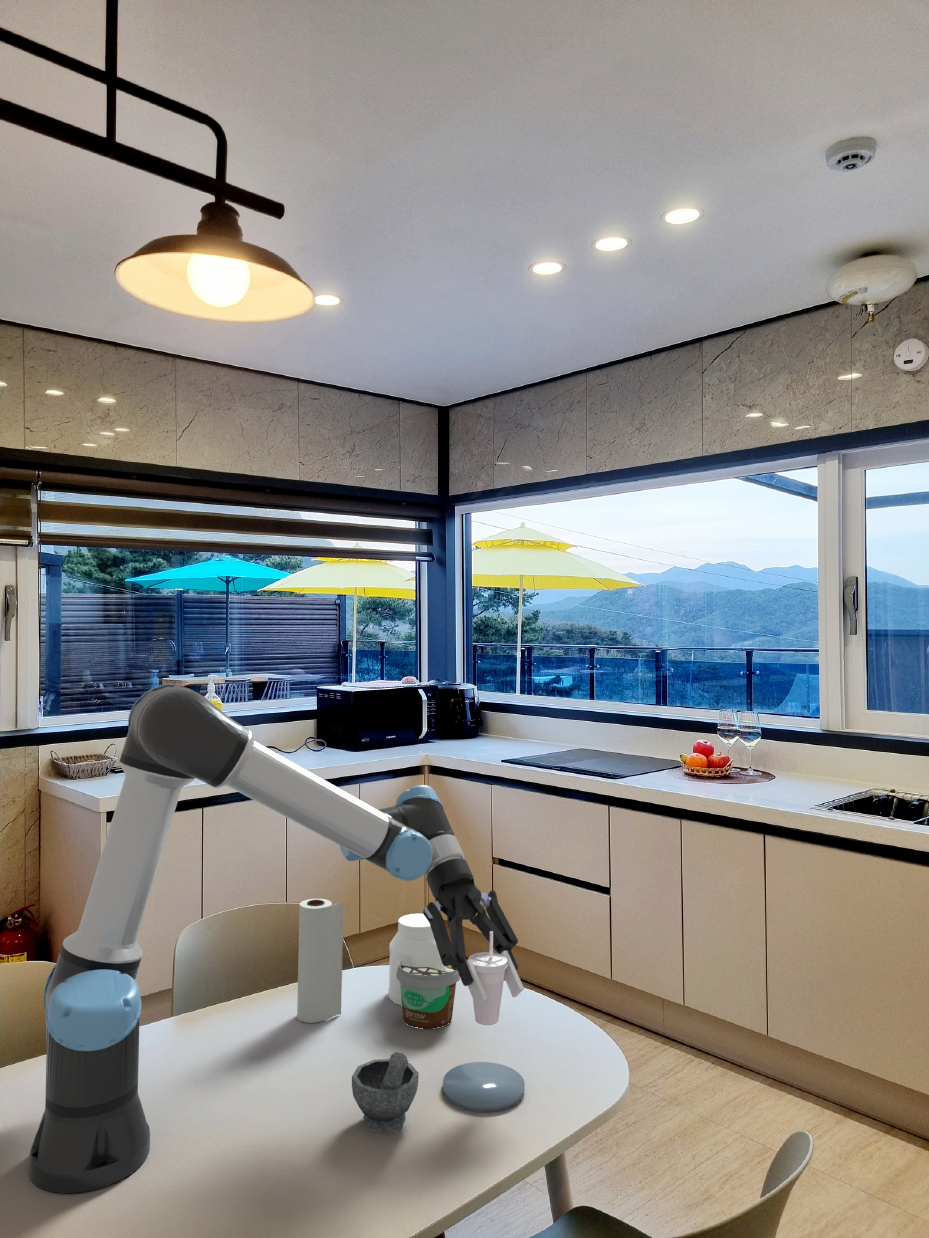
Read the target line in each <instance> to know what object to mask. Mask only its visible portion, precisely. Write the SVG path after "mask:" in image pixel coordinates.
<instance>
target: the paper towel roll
mask: <svg viewBox="0 0 929 1238" xmlns="http://www.w3.org/2000/svg"><path fill="white" fill-rule="evenodd" d="M298 915H299V916H298V918H299V920H298V921H299V922H298V958H297V959H298V961H297V962H298V963H297V964H298V965H297V966H298V968H297V969H298V970H297V1003H296V1005H297V1008H296V1010H297V1011H296V1014H297V1015H296V1018H297V1019H298V1020H299V1021H300V1022H303V1023H309V1024H312V1023H316V1024H317V1023H320V1022H324V1021H328V1020H330V1019H331V1018H334V1017H336V1016H339V1015H341V1014H342V989H343V987H342V982H343V979H342V978H343V944H344V943H343V941H344V939H343V936H344V935H343V934H344V932H343V931H344V902H338V903H335V904H333V902H332V901H331V900H328V899H325V898H310V899H304V900H303V901H301V902H299V913H298Z"/></svg>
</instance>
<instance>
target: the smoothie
mask: <svg viewBox="0 0 929 1238" xmlns="http://www.w3.org/2000/svg"><path fill="white" fill-rule="evenodd" d="M467 958H468V959H467V960H469V959H472V962H473V964H474V966H475V969H476V971H477V974H478V976H479V979H480V981H481V983H482V986H483V988H484V991H485V993H486V995H487V998H488V999H487V1000H486V1002H485V1003H484V1004H483V1005H482V1006H481V1007H478V1008H476V1005H475V1003H474V1000H473V999H472V1000H473V1001H472V1002H473V1012H474V1021H475V1022H476V1024H479V1025H482V1026H493V1025H496V1024H497V1023H499V1019H500V1012H501V1011H500V1010H501V1003H502V995H503V990H504V989H503V988H504V981H505V978H504V975H505V969H506V968H507V966H508V965H507V958H506V957H505V956H503V955H501V954H498V953H497V952H494V948H493V931H490V943H489V951H481V952H480V951H479V952H476V953H473V954H470V955H469V957H467Z"/></svg>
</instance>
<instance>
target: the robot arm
mask: <svg viewBox="0 0 929 1238" xmlns="http://www.w3.org/2000/svg"><path fill="white" fill-rule="evenodd" d="M127 727H128V732H127V735H126V737H125V742H124V745H123V748H122V751H121V755H120V758H119V761H118V764H119V766H120V767H121V769H122V771H123V772H124V775H125V777H124V780H123V783H122V785H121V786H122V787H121V790H120V793H119V796H118V799H117V803H116V806H115V808H114V813H113V815H112V819H111V823H110V825H109V829H108V831H107V835H106V838H105V842H104V844H103V849H102V851H101V853H100V854H101V855H100V857H99V861H98V864H97V867H96V870H95V875H94V878H93V880H92V884H91V887H90V890H89V894H88V896H87V900H86V903H85V907H84V910H83V914H82V917H81V920H80V922H79V925H78V929H77V930H76V931H75V932H73V933H72V934H70V935H69V936H67V937H65V938H64V940H63V941H62V945H61V947H60V948H61V949H60V952H59V955H58V957H57V961H56V963H55V964H54V965H53V967H52V968H51V970H50V973H49V974H48V976H47V979H46V982H45V985H44V990H43V1005H44V1006H43V1008H44V1010H45V1030H46V1031H45V1032H46V1033H45V1035H46V1037H45V1038H46V1058H45V1059H46V1064H45V1065H46V1066H45V1103H44V1111H43V1114H42V1116H41V1117H42V1118H41V1120H40V1123H39V1126H38V1128H37V1131H36V1134H35V1137H34V1140H33V1142H32V1145H31V1148H30V1151H29V1157H28V1158H29V1159H28V1161H29V1163H28V1175H29V1178H30V1180H31V1181H32V1183H33V1184H34V1185H36V1186H37V1187H38V1188H41V1189H42V1190H45V1191H48V1192H52V1193H53V1192H54V1193H59V1194H60V1193H62V1194H73V1193H76V1194H77V1193H82V1192H83V1193H85V1192H90V1191H94V1190H98V1189H102V1188H106V1187H107V1186H111V1185H112V1184H114V1183H117V1182H119V1181H121V1180H123V1179H124V1178H127V1177H128V1176H130V1175H131V1174H133V1173H134V1172H135V1171H137V1169H139V1168H140V1166H142V1165H143V1163H145V1161H146V1160H147V1158H148V1156H149V1154H150V1151H151V1149H150V1148H151V1129H150V1126H149V1123H148V1122H147V1118H146V1114H145V1111H144V1109H143V1105H142V1102H141V1099H140V1096H139V1064H140V1063H139V1060H140V1057H139V1055H140V1054H139V1051H140V1018H141V1013H142V998H141V996H140V995H141V994H140V987H139V984H138V983H137V981H136V977H137V974H138V970H139V967H140V964H141V961H142V957H143V950H142V948H141V946H140V945H139V944H138V941H137V939H138V935H139V931H140V929H141V925H142V922H143V919H144V915H145V912H146V908H147V905H148V902H149V898H150V895H151V892H152V888H153V885H154V881H155V878H156V875H157V872H158V869H159V868H158V867H159V864H160V862H161V858H162V855H163V852H164V848H165V845H166V842H167V839H168V835H169V831H170V828H171V824H172V822H173V819H174V815H175V811H176V808H177V805H178V802H179V798H180V796H181V791H182V789H183V788H184V787H185V786H187V785H189V784H190V783H193V782H194V781H195V779H196V780H199V781H201V782H203V783H205V784H207V785H209V786H210V787H212V788H215V789H219V788H222V787H226V786H227V787H229V788H230V789H232V790H234V791H235V792H238V793H240V794H242V795H243V796H245V797H247V798H249V799H250V800H253V801H255V802H257V803H258V804H260V805H262V806H265V807H266V808H268V809H269V810H272V811H274V812H276V813H277V814H280V815H282V816H283V817H285V818H287V819H289V820H291V821H292V822H295V823H297V824H298V825H300V826H301V827H305V828H306V829H308V830H309V831H311V832H313V833H316V834H317V835H320V836H321V837H323V838H325V839H327V840H329V841H330V842H333V843H334V844H336V845H338V846H339V849H340V852H341V854H342V856H343V857H344V859H345V860H347V861H348V862H352V861H353V862H354V861H358V860H359V861H363V860H366V861H368V862H370V863H371V864H373V865H374V866H377V867H379V868H381V869H383V870H385V871H387V872H388V873H389V874H390V875H391V876H392V877H395V878H397V879H400V880H401V881H405V882H406V881H408V882H410V881H416V880H418V879H420V878H421V877H423V876H425V877H426V879H425V880H426V882H427V885H428V887H429V890H430V892H431V895H432V897H434V898H435V899H434V900H435V901H434V902H431V901H430V902H429V903H428V904H427V905H426V906H425V908H424V910H423V911H422V914H424V916H425V917H426V919H427V920H428V922H429V923H430V926H431V929H432V933H433V936H434V939H435V942H436V945H437V948H438V952H439V955H440V958H441V961H442V964H443V965H444V966H446V967H448V966H451V969H452V970H453V971H454V970H457V971H458V973H459V976H460V980H461V983H462V985H463V986H464V987H468V990H469V993H470V994H471V995H470V996H471V997H472V1000H474V1003H475V1005H476V1008H478V1007H481V1006H482V1005H483V1004H484V1003H485V1002H486V1000H487V999H488V998H487V995H486V993H485V991H484V988H483V986H482V983H481V981H480V979H479V976H478V974H477V971H476V969H475V966H474V964H473V962H472V959H469V960H468V959H467V953H466V945H465V937H464V936H465V935H464V927H463V921H464V920H466V921H470V923H471V924H472V925H474V926H476V927H477V928H478V929H479V931H480V933H481V934H482V936H483V937H485V939H486V940H487V942H488V943H489V944H490V931H493V950H495V953H498V954H501V955H503V956H505V957H506V958H507V965H508V966H507V968H506V969H505V975H504V981H505V982H506V985H507V988H508V990H509V992H510V994H511V996H512V998H516V997H518V996H519V995H520V994H521V993H522V992H523V990H525V987H524V986H523V983H522V981H521V978H520V976H519V974H518V972H517V971H518V970H519V966H518V965H519V964H518V963H517V961H516V959H515V957H514V954H513V952H512V950H513V949H514V947H515V946H517V944H518V942H519V940H518V937H517V936H516V934H515V932H514V930H513V928H512V927H511V925H510V923H509V921H508V919H507V917H506V915H505V914H504V911H503V910H502V908H501V906H500V904H499V902H498V901H499V900H498V895H497V893H496V891H495V890H494V889H493V890H490V891H489V892H481V890H480V889H479V888H478V887H477V886H476V883H475V880H474V874H473V873H472V871H471V868H470V866H469V864H468V861H467V860H466V859H465V854H464V852H463V850H462V847H461V845H460V843H459V841H458V838H457V836H456V835H455V833H454V831H453V828H452V826H451V824H450V821H449V819H448V817H447V815H446V814H447V813H446V812H445V807H444V805H443V803H442V802H441V800H440V798H439V797H438V795H437V793H436V792H435V790H434V789H433V787H432V786H430V785H428V784H427V785H426V784H419V785H414V786H412V787H410V788H409V789H406V790H404V791H402V792H401V793H400V794H399V795H398V796H397V798H396V800H395V804H396V805H393V806H388V807H384V808H379V809H377V808H375V807H374V806H372V805H370V804H368V803H367V802H364V801H363V800H362V799H359V798H358V797H356V796H354V795H353V794H350V793H348V792H347V791H345V790H343V789H341V788H339V787H338V786H336V785H335V784H332V783H331V782H329V781H328V780H326V779H324V778H322V777H320V776H318V775H316V774H315V773H313V772H311V771H310V770H307V769H306V768H304V767H302V766H300V765H299V764H297V763H296V762H293V761H292V760H289V759H288V758H287V757H284V756H283V755H282V754H279V753H278V752H276V751H274V750H272V749H271V748H268V747H267V746H265V745H263V744H261V743H259V742H258V741H256V740H254V737H253V733H252V731H251V730H250V729H249V728H248V727H245V726H244V725H242V724H240V723H238V722H237V721H235V720H234V719H232V718H231V717H230V716H228V715H227V714H226V713H225V712H223V711H222V710H221V709H220V708H218V707H217V705H215V704H213V703H212V701H210V700H209V699H208V698H206V697H205V696H204V695H202V694H200V693H199V692H196V691H195V690H193V689H191V688H188V687H186V686H183V685H178V684H171V683H170V684H163V685H158V686H155V687H152V688H151V689H149V690H148V691H146V692H145V693H143V694H142V695H140V697H139V698H137V700H136V701H135V702H134V704H133V705H132V707H131V709H130V712H129V714H128V722H127ZM481 903H482V904H481ZM441 912H442V913H443V914H444V915H445V916H446V918H447V919H446V920H447V928H448V929H449V933H448V930H447V928H446V924H445V921H444V918H443V915H442V913H441ZM449 935H450V936H449ZM474 1003H473V1004H474Z"/></svg>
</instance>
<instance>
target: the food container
mask: <svg viewBox="0 0 929 1238" xmlns="http://www.w3.org/2000/svg"><path fill="white" fill-rule="evenodd" d="M396 977H397V979H398V980H399V981H400V987H401V1001H402V1006H401V1011H402V1021H403V1020H404V1021H403V1022H404V1024H405V1023H407V1024H408V1025H407V1024H406V1025H407V1026H409V1025H410V1026H413V1027H418V1028H423V1029H422V1030H434V1029H433V1028H437V1027H441V1028H443V1027H442V1026H444V1027H446V1026H448V1025H449V1024H451V1022H452V1021H451V1020H453V1012H454V1003H455V996H456V987H457V983H458V982H459V981H460V980H461V978H460V976H459V973H458V971H457V970H453V971H447V970H446V971H441V970H437V969H434V968H431V967H410V966H403V965H402V961H400V963H399V965H398V968H397V973H396ZM448 1023H449V1024H448ZM447 1024H448V1025H447ZM445 1025H446V1026H445ZM410 1026H409V1027H410ZM413 1027H412V1028H413ZM437 1029H438V1028H437Z"/></svg>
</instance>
